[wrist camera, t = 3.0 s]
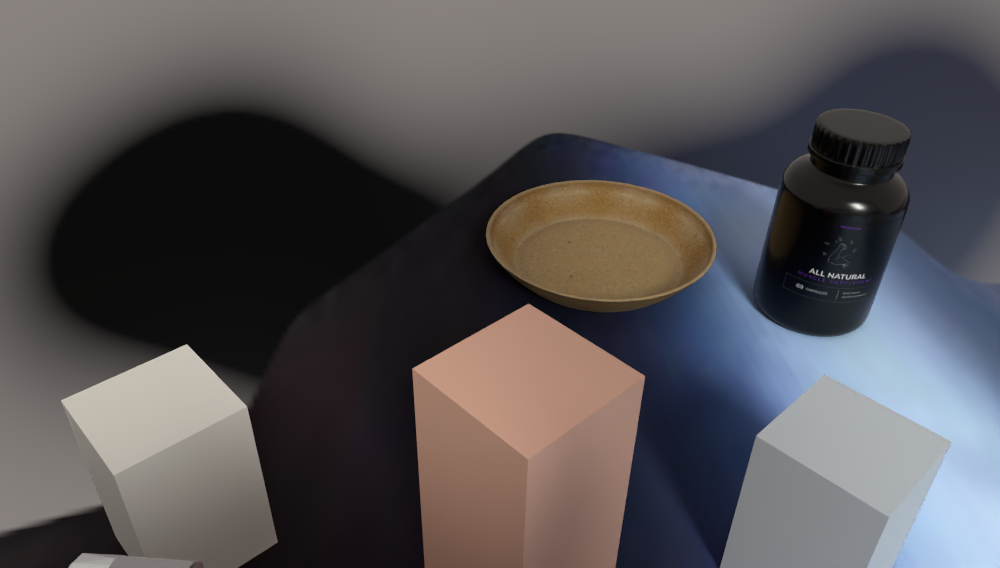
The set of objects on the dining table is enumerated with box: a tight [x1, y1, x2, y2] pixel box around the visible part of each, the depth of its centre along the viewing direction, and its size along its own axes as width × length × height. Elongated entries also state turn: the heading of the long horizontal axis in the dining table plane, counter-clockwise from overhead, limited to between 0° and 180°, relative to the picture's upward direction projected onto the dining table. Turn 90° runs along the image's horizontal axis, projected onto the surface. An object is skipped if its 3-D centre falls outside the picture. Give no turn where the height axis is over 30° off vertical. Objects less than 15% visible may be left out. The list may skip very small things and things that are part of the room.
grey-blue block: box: [720, 375, 951, 568], centre depth 32 cm, size 5×5×8 cm
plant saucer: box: [486, 180, 717, 312], centre depth 53 cm, size 15×15×3 cm
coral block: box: [412, 304, 645, 568], centre depth 28 cm, size 5×5×13 cm
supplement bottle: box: [753, 109, 911, 337], centre depth 46 cm, size 7×7×12 cm
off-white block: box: [61, 345, 278, 568], centre depth 33 cm, size 5×5×8 cm
